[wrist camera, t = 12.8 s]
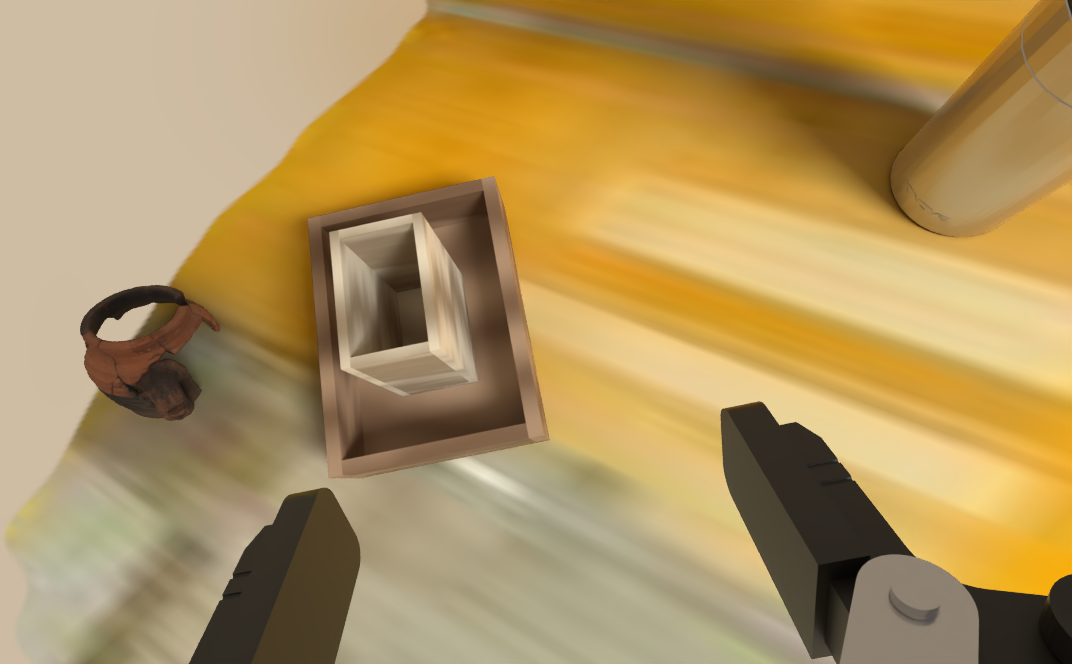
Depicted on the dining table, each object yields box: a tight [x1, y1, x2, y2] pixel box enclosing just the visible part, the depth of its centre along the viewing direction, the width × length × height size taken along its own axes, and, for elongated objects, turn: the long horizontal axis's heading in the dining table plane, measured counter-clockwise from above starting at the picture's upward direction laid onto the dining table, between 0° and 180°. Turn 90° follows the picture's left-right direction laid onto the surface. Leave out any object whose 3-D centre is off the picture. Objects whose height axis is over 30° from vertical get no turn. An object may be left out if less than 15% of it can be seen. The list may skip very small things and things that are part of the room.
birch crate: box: [329, 212, 479, 396], centre depth 39 cm, size 9×6×11 cm, turn 11°
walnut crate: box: [308, 176, 549, 478], centre depth 42 cm, size 20×15×5 cm
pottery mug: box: [80, 285, 220, 421], centre depth 44 cm, size 12×10×8 cm
